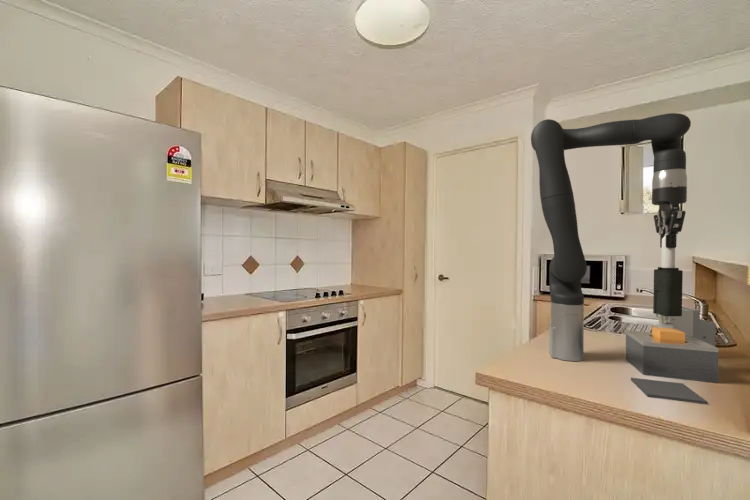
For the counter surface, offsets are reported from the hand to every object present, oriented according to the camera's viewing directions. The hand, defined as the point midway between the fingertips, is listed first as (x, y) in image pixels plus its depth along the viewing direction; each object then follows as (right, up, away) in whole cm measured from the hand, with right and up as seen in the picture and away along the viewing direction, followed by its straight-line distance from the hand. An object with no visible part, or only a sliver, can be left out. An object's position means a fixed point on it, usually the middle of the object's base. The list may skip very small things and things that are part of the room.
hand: (668, 247), depth 97 cm
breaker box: (0, -35, 0) cm, 35 cm away
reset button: (0, -30, 0) cm, 30 cm away
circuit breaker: (+19, -35, +15) cm, 43 cm away
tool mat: (-13, -35, -14) cm, 40 cm away
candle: (0, -19, 0) cm, 19 cm away
